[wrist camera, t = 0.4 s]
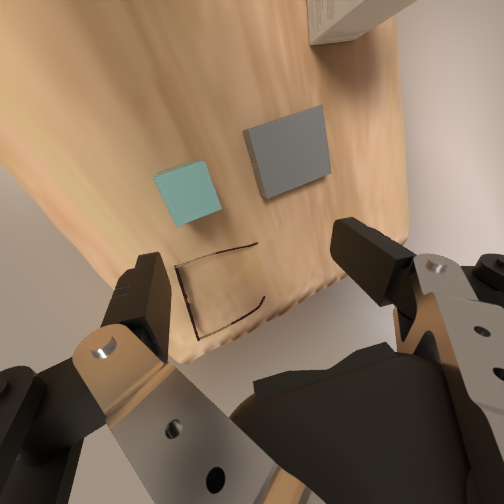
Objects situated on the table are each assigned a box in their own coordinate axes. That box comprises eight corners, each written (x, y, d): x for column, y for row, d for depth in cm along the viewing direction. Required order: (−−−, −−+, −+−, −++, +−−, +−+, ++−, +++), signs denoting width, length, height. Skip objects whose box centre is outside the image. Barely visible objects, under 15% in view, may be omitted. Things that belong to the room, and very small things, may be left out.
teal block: (157, 172, 31) (153, 178, 21) (191, 161, 32) (204, 160, 22) (173, 206, 34) (176, 227, 23) (204, 194, 35) (222, 209, 24)
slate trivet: (242, 131, 33) (248, 129, 31) (312, 108, 35) (322, 104, 33) (261, 197, 38) (267, 199, 35) (322, 172, 40) (331, 173, 38)
